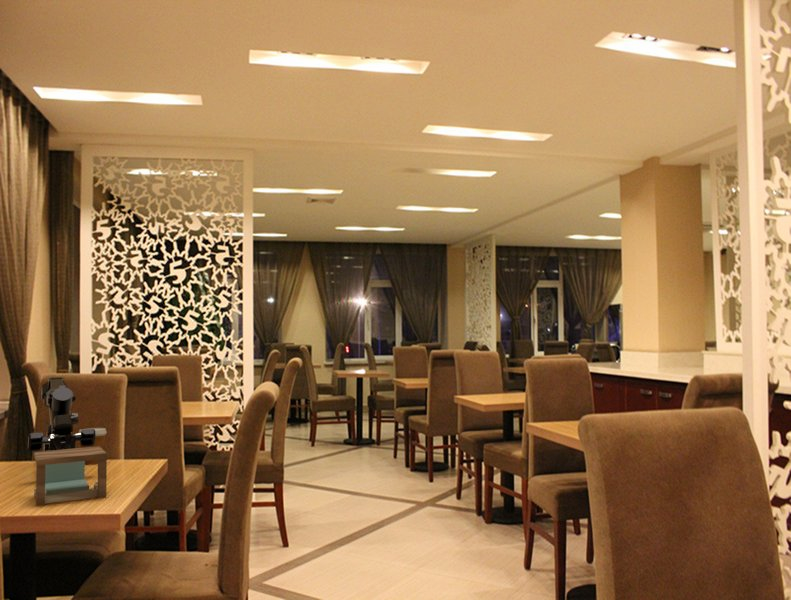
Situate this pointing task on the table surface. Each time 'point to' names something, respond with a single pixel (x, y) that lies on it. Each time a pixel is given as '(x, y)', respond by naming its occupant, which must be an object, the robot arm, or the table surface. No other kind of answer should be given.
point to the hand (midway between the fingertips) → (63, 461)
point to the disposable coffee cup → (96, 442)
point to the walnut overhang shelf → (67, 457)
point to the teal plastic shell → (65, 477)
